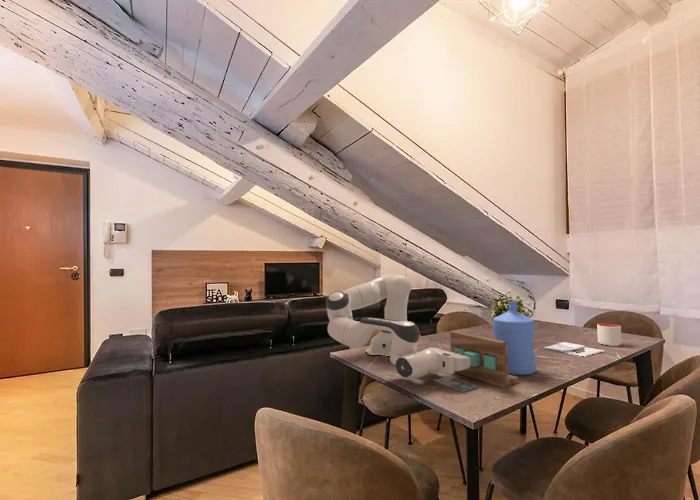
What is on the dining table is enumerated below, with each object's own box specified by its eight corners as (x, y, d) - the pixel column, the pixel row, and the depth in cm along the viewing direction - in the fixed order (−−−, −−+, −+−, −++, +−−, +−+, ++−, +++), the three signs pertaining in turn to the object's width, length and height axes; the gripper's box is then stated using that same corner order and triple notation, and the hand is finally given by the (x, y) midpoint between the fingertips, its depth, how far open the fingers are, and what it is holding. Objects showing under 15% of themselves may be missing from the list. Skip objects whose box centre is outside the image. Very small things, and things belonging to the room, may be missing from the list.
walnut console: (503, 387, 130) (502, 342, 130) (451, 371, 150) (450, 332, 151) (518, 382, 135) (517, 339, 135) (466, 367, 155) (465, 329, 155)
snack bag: (565, 345, 192) (565, 340, 192) (607, 353, 174) (607, 348, 174) (542, 350, 183) (542, 345, 183) (584, 359, 165) (584, 354, 165)
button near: (494, 369, 132) (494, 357, 132) (484, 366, 136) (483, 355, 136) (506, 366, 136) (505, 354, 136) (495, 363, 139) (495, 352, 140)
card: (463, 392, 126) (463, 390, 126) (433, 381, 138) (433, 379, 138) (478, 388, 130) (478, 385, 130) (448, 377, 142) (448, 375, 142)
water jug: (516, 378, 140) (514, 305, 141) (486, 367, 154) (484, 301, 155) (544, 372, 146) (542, 302, 147) (513, 362, 160) (511, 298, 161)
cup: (626, 346, 184) (625, 326, 184) (606, 347, 184) (605, 327, 184) (612, 342, 194) (611, 323, 194) (593, 342, 194) (592, 323, 194)
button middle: (473, 366, 136) (472, 354, 136) (463, 364, 140) (463, 352, 140) (485, 363, 140) (484, 352, 140) (475, 360, 144) (475, 349, 144)
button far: (463, 361, 144) (463, 350, 144) (454, 358, 147) (454, 347, 147) (475, 358, 147) (474, 347, 148) (466, 356, 151) (466, 345, 151)
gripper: (415, 362, 147) (439, 356, 154) (455, 375, 130) (480, 368, 137) (415, 346, 147) (439, 341, 154) (454, 357, 130) (479, 351, 137)
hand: (459, 354), depth 146 cm, fingers closed, pressing on button far
